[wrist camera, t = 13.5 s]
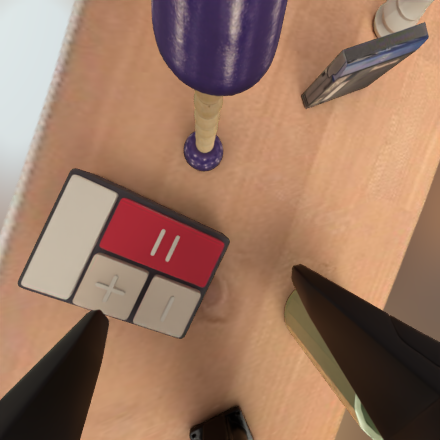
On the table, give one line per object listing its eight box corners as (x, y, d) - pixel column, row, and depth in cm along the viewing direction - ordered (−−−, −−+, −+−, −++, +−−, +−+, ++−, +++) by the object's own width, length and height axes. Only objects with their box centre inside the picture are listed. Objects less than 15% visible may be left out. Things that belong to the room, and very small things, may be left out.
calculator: (182, 347, 17) (4, 291, 14) (184, 318, 21) (47, 271, 18) (233, 241, 17) (65, 163, 14) (224, 233, 21) (94, 173, 18)
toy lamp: (177, 131, 19) (47, -372, 3) (219, 121, 20) (336, -350, 3) (189, 175, 20) (145, -10, 3) (230, 165, 20) (386, -42, 3)
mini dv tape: (305, 109, 21) (348, 68, 15) (300, 96, 20) (342, 49, 15) (365, 87, 21) (430, 40, 15) (362, 74, 21) (426, 21, 15)
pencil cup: (349, 325, 23) (463, 412, 13) (295, 351, 22) (373, 464, 13) (331, 270, 22) (438, 320, 12) (275, 296, 22) (340, 370, 12)
